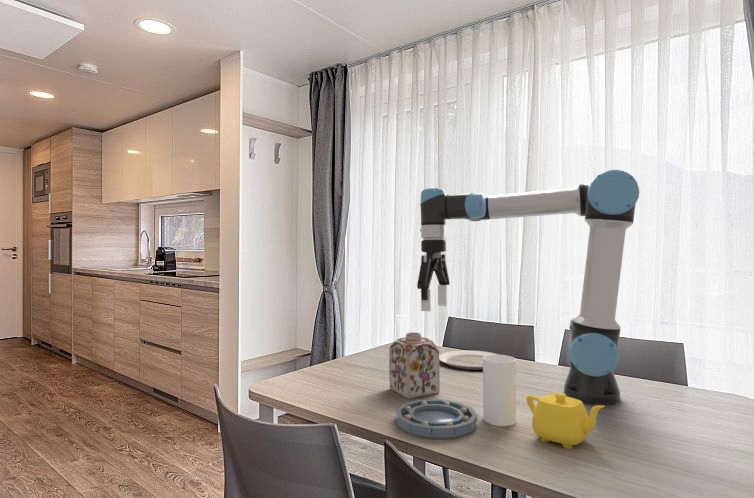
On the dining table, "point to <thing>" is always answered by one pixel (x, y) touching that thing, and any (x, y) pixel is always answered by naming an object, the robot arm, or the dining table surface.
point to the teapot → (561, 419)
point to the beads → (464, 410)
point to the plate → (452, 354)
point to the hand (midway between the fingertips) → (434, 308)
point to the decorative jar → (414, 366)
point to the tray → (436, 419)
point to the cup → (499, 390)
